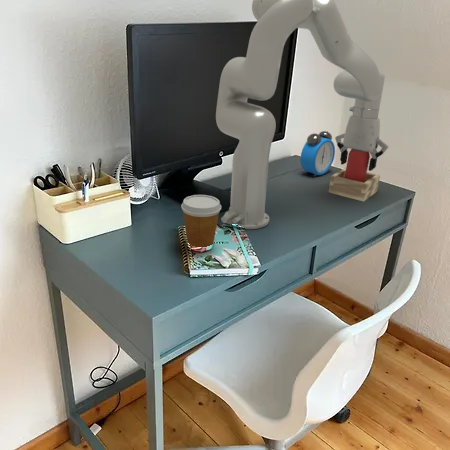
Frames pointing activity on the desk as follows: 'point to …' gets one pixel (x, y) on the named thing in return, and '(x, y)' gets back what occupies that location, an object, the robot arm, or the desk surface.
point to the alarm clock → (318, 153)
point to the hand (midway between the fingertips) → (357, 166)
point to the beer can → (357, 165)
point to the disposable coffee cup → (200, 219)
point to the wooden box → (353, 186)
